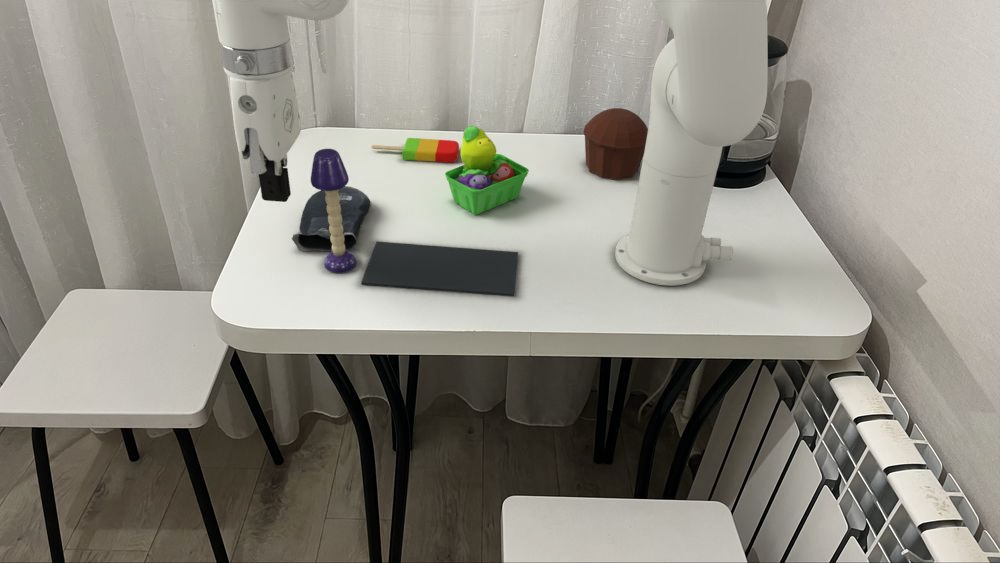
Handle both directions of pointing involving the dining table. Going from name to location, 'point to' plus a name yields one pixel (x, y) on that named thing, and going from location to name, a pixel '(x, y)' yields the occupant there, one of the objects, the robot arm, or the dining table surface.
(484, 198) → the fruit basket
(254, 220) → the dining table surface
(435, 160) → the popsicle
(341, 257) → the toy lamp
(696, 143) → the robot arm
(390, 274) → the mat
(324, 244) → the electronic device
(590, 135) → the muffin
